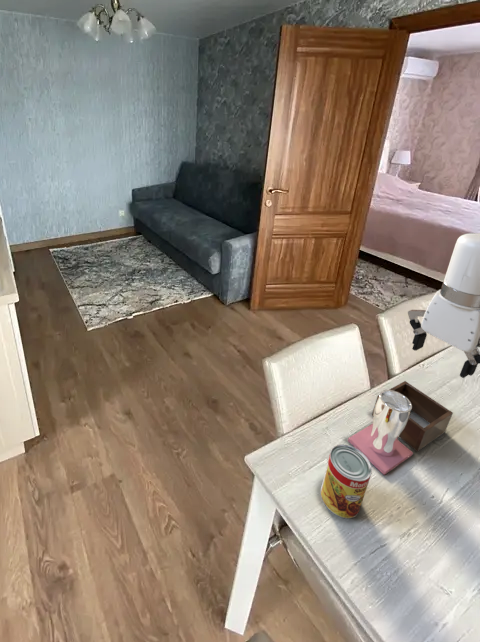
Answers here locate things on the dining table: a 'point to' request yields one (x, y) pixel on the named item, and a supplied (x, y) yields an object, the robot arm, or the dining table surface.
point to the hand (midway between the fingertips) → (439, 361)
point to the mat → (377, 460)
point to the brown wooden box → (426, 410)
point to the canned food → (345, 480)
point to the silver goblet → (388, 421)
